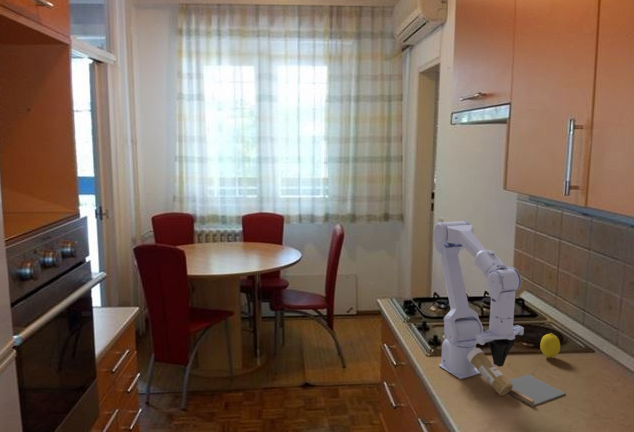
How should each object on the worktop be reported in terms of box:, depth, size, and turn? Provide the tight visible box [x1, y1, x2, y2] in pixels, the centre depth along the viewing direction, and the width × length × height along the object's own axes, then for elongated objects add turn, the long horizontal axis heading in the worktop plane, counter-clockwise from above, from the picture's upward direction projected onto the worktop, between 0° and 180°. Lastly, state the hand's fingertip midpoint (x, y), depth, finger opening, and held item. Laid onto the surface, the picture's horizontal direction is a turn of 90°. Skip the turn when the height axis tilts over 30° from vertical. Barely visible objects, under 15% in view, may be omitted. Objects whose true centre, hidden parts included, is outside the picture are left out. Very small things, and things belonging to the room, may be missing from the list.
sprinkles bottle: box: [467, 347, 513, 397], centre depth 139 cm, size 5×5×14 cm
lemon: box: [539, 332, 561, 359], centre depth 157 cm, size 6×6×8 cm
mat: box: [507, 374, 566, 408], centre depth 139 cm, size 12×13×2 cm
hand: (498, 364), depth 133 cm, fingers closed
